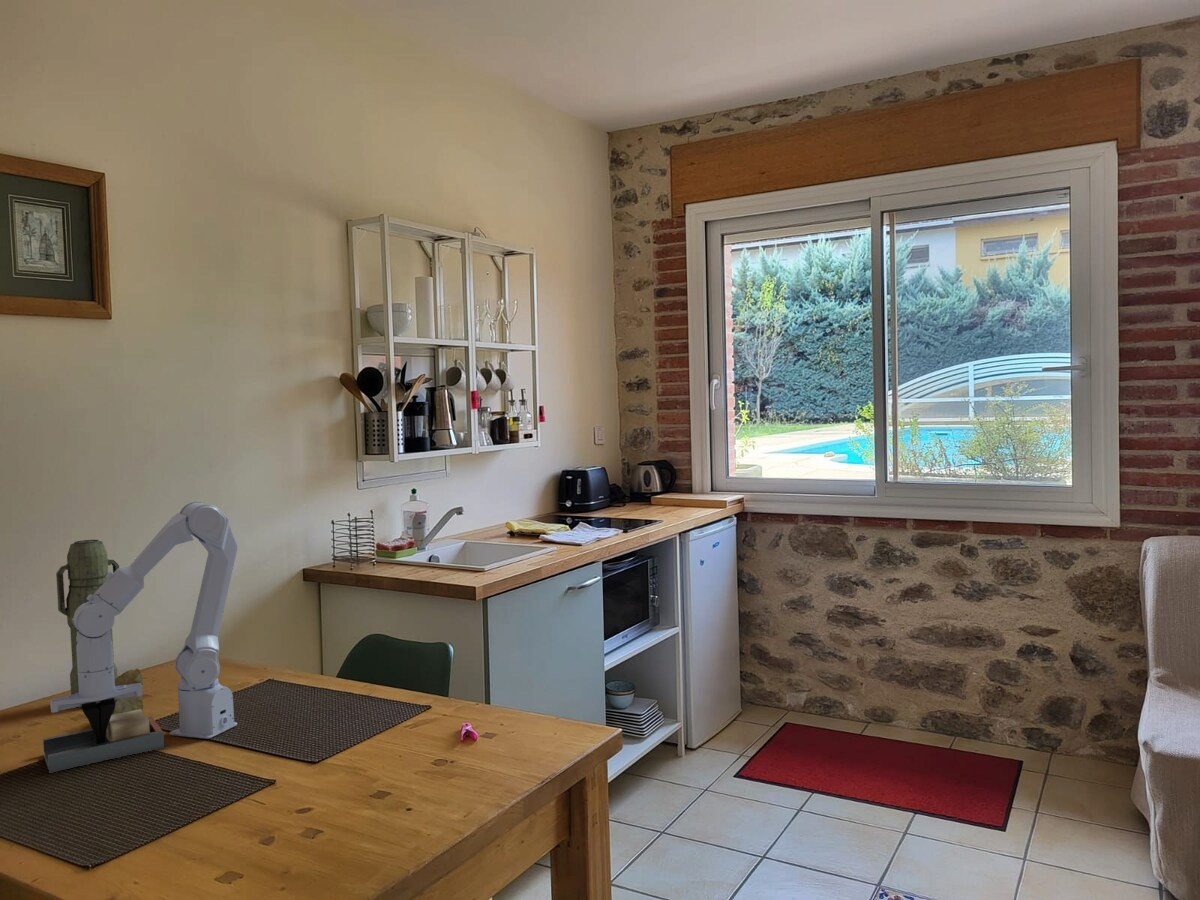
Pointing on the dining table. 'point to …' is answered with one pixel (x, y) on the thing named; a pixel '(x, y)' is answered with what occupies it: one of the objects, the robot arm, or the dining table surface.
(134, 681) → the rock
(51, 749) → the chute
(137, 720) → the block
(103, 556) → the thermos
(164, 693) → the dining table surface
